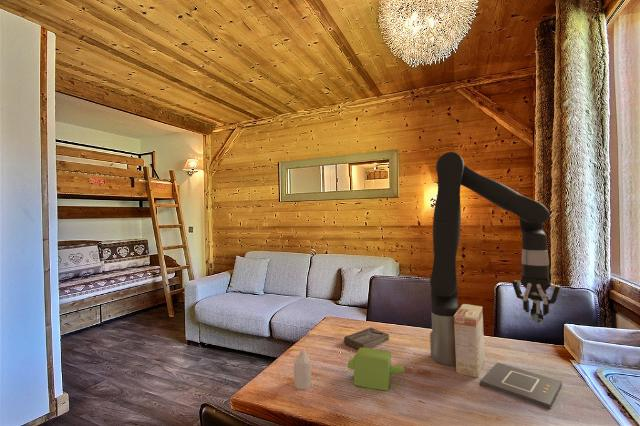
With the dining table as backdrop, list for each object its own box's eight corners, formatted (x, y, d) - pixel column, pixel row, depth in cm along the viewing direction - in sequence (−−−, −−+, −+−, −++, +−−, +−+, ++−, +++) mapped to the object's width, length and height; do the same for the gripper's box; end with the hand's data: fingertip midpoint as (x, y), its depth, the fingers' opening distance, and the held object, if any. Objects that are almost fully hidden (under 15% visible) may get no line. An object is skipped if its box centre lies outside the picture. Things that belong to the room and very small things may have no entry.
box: (343, 343, 132) (343, 336, 132) (370, 333, 143) (370, 326, 143) (362, 352, 124) (362, 344, 124) (389, 341, 135) (389, 333, 135)
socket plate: (480, 384, 99) (480, 380, 99) (497, 365, 110) (497, 362, 110) (550, 409, 86) (550, 404, 86) (562, 385, 97) (561, 381, 97)
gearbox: (405, 379, 105) (405, 350, 105) (403, 394, 95) (402, 362, 96) (352, 370, 111) (352, 343, 111) (345, 384, 101) (345, 354, 102)
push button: (550, 325, 102) (551, 294, 102) (532, 324, 104) (532, 293, 104) (541, 318, 109) (541, 289, 109) (524, 317, 110) (524, 288, 110)
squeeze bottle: (292, 345, 105) (308, 343, 106) (293, 381, 105) (310, 378, 106) (293, 352, 99) (311, 350, 100) (295, 390, 99) (312, 388, 100)
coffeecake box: (464, 355, 119) (462, 303, 119) (485, 359, 115) (483, 306, 114) (455, 372, 106) (452, 314, 106) (478, 378, 102) (476, 318, 102)
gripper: (507, 262, 109) (509, 311, 109) (559, 266, 98) (560, 321, 99) (514, 259, 114) (515, 306, 114) (563, 263, 104) (564, 315, 104)
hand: (536, 313), depth 106 cm, fingers closed on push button, 4 cm apart
